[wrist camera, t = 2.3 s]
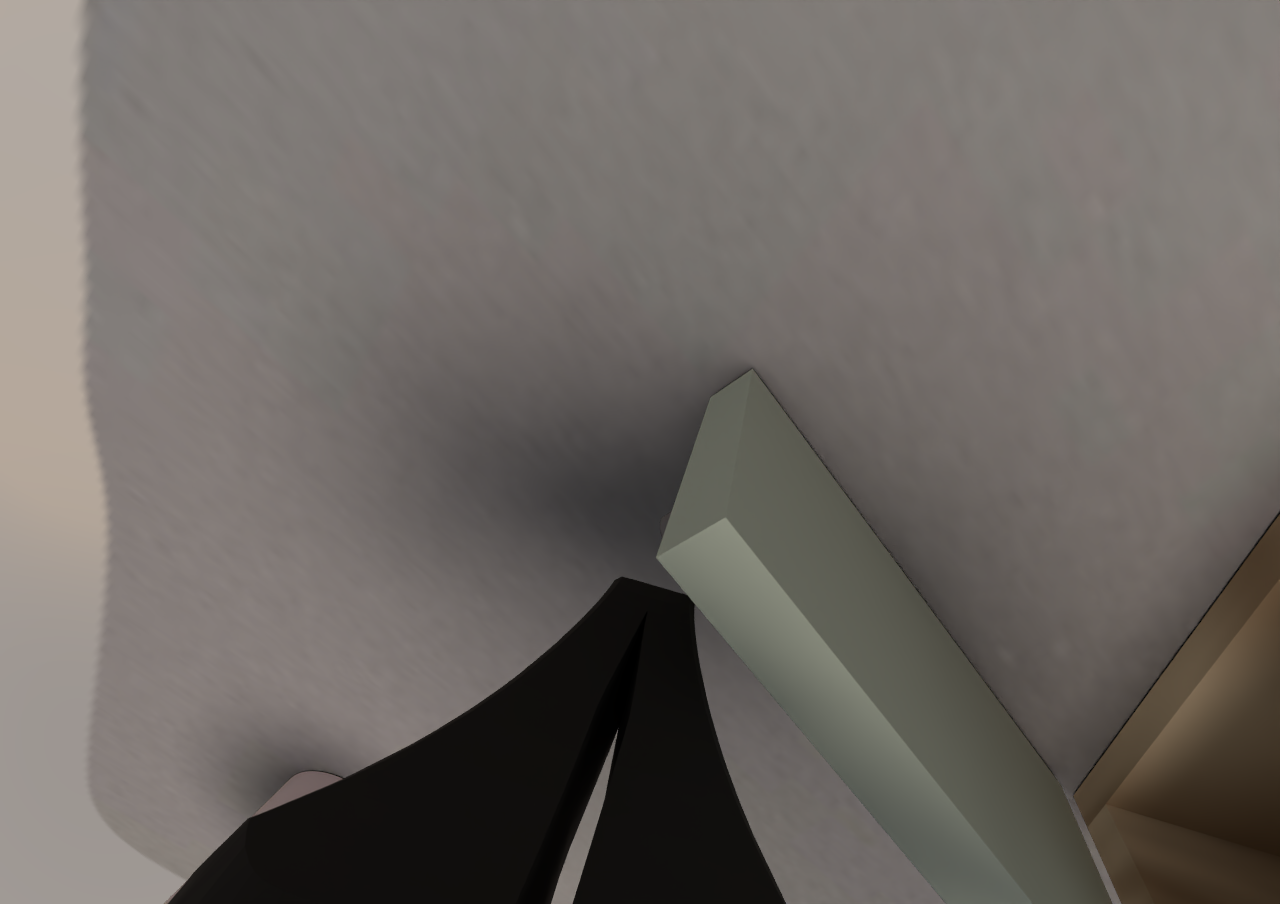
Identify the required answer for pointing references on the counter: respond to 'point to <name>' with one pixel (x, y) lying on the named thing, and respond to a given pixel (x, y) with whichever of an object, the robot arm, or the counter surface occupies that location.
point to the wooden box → (1201, 760)
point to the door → (865, 663)
